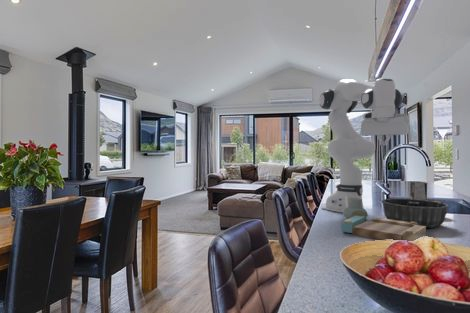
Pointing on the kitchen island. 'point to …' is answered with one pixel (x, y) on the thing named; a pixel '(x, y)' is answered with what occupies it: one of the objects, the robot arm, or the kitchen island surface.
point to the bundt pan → (416, 211)
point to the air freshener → (354, 208)
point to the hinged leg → (352, 223)
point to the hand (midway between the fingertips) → (383, 145)
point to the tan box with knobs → (390, 229)
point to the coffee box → (418, 190)
